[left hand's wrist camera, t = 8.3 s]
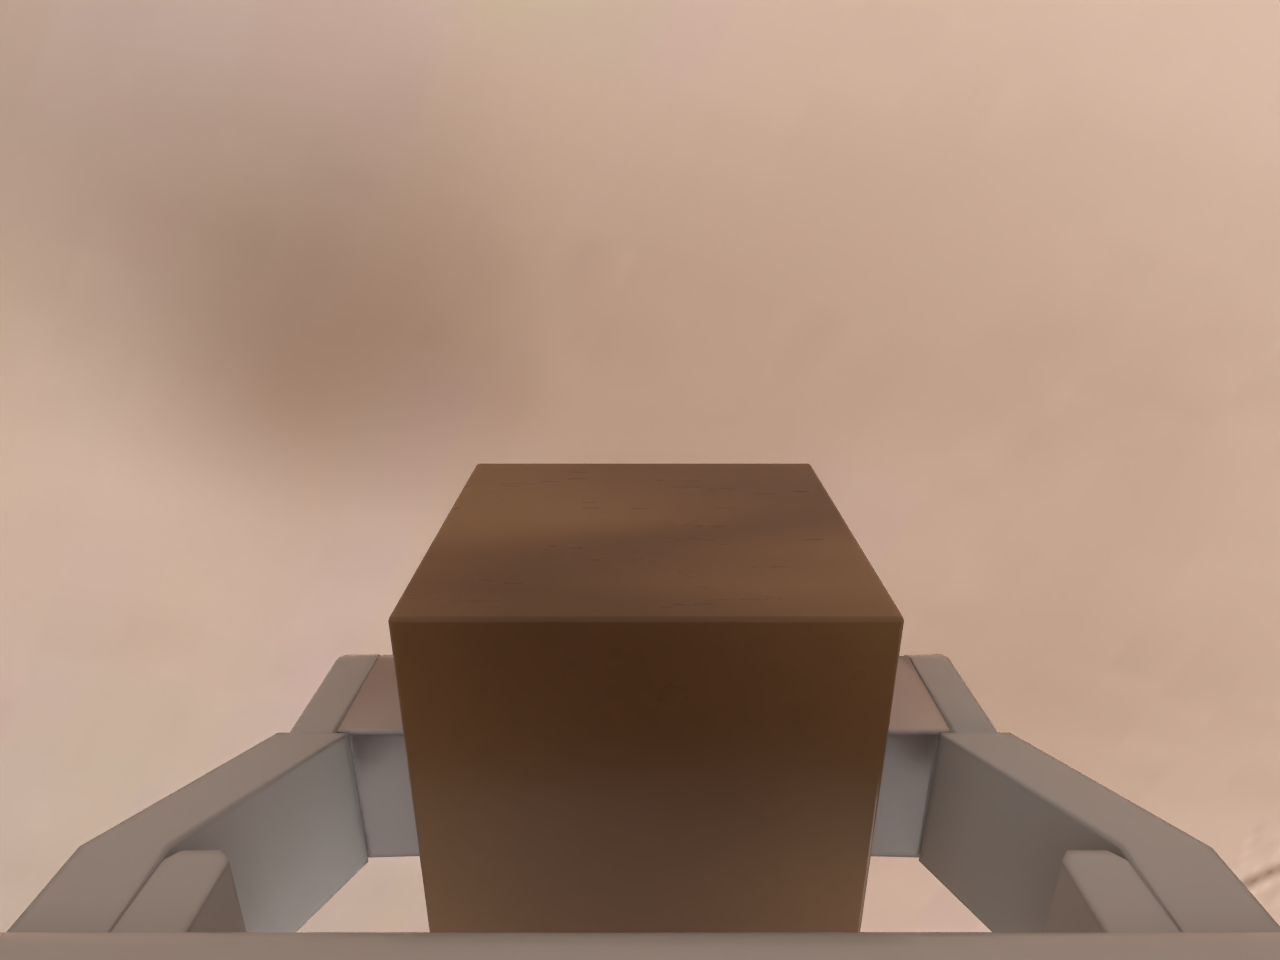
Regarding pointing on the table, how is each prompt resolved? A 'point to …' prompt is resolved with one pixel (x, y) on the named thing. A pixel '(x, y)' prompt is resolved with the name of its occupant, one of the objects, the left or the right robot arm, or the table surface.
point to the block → (645, 702)
